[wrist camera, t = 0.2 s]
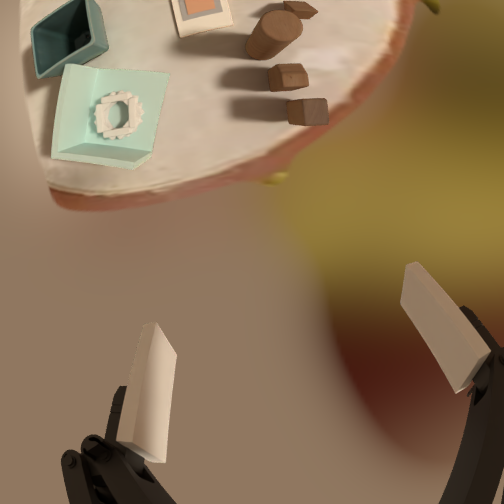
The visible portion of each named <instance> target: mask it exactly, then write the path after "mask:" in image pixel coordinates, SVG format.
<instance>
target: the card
mask: <svg viewBox="0 0 504 504" xmlns="http://www.w3.org/2000/svg"><path fill="white" fill-rule="evenodd" d="M172 5H173V9H174V14H175V18H176V22H177V26H178V31H179V35H180V38H183V37H186V36H190V35H193V34H197V33H201V32H205V31H209V30H214V29H218V28H223V27H228V26H234V24H233V20H232V17H231V13H230V9H229V5H228V2H227V0H172Z"/></svg>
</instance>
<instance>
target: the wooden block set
mask: <svg viewBox="0 0 504 504" xmlns="http://www.w3.org/2000/svg"><path fill="white" fill-rule="evenodd" d="M283 2H284V7H285V10H272V11H269V12H267V13H265V14H264V15H263V16H262V17H261V18H260V20H259V22H258V23H257V25H256V27H255V28H254V30H253V32H252V34H251V35H250V37H249V39H248V41H247V43H246V45H245V49H246V52H247V53H248V54H249V55H250V56H251V57H253V58H254V59H258V60H267V59H271V58H273V57H274V56H275V55H277V54H278V53H279V52H280V51H281V50H283V49H284V48H285V47H286V46H288V45H289V44H290V43H291V42H293V41H294V40H295V39H297V38H298V37H299V36H300V35H301V33H302V31H303V25H302V22H301V20H300V19H310V18H311V17H312V16H314V15H315V14H316V13H318V11H317V10H316V9H314V8H313V7H312V6H310V5H309V4H308V3H306V2H299V1H283ZM268 78H269V85H270V91H271V92H278V91H292V90H296V89H300V88H304V87H307V86H309V82H308V75H307V73H306V71H305V69H304V68H303V66H302V65H301V64H277V65H275V66H274V67H272V68H271V69H269V70H268ZM286 106H287V114H288V122H289V124H293V125H301V126H316V125H328V124H329V115H328V105H327V100H326V99H325V98H313V99H299V100H292V101H287V102H286Z"/></svg>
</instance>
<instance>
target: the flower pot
mask: <svg viewBox="0 0 504 504" xmlns="http://www.w3.org/2000/svg"><path fill="white" fill-rule="evenodd" d="M88 35H90V36H89V37H88V38H87V36H88ZM31 42H32V50H33V59H34V66H35V73H36V77H37V79H42V78H49V77H55V76H61V75H63V72H64V68H65V64H77V65H82V64H84V63H86V62H88V61H89V60H91V59H93V58H95V57H97V56H98V55H100V54H102V53H104V52H106V51H107V50H108V49H109V45H108V41H107V37H106V32H105V27H104V22H103V16H102V12H101V9H100V7H99V6H98V4H97V3H96V2H95V1H94V0H70V1H68V2H67V3H65V4H63V5H62V6H60V7H59V8H57V9H56V10H55V11H53V12H52V13H50V14H49V15H47V16H46V17H45V18H43V19H42V20H41V21H39V22H38V23H36V24H35V25H34V26H33V27H32V28H31Z"/></svg>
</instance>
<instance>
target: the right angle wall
mask: <svg viewBox="0 0 504 504" xmlns="http://www.w3.org/2000/svg"><path fill="white" fill-rule="evenodd" d="M169 76H170V73H162V72H152V71H141V70H126V69H98V68H93V67H88V66H83V65H77V64H65V68H64V72H63V76H62V81H61V86H60V90H59V96H58V101H57V107H56V114H55V121H54V129H53V138H52V149H51V158H52V159H61V160H69V161H77V162H85V163H92V164H99V165H106V166H112V167H119V168H125V169H131V170H134V169H135V168H137V167H138V166H139V165H141V164H142V163H144V162H145V161H147V160H148V159H150V158H151V155H152V149H153V144H154V139H155V134H156V129H157V125H158V120H159V116H160V111H161V107H162V103H163V99H164V95H165V91H166V87H167V84H168V80H169Z"/></svg>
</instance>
